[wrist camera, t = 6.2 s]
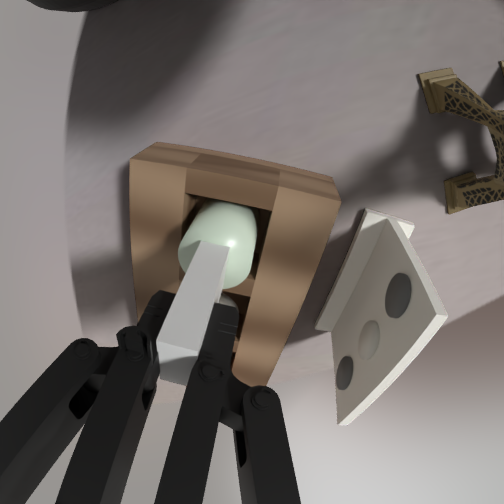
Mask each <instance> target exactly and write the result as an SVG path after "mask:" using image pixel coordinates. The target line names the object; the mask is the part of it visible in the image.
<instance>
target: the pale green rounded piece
mask: <svg viewBox="0 0 504 504" xmlns="http://www.w3.org/2000/svg"><path fill="white" fill-rule="evenodd" d="M259 222H260V215H259V210H258V208H257V207H252V206H248V205H243V204H239V203H234V202H229V201H224V200H219V199H214V198H210V197H208V198H207V199H206V200H205V202H204V204H203V205H202V207H201V209H200V210H199V212H198V214H197V215H196V217H195V219H194V220H193V222H192V224H191V225H190V227H189V229H188V231H187V232H186V234H185V236H184V237H183V239H182V241H181V243H180V245H179V248H178V259H179V263H180V265H181V267H182V269H183V271H184V272H185V273H186V272H187V270H188V268H189V265H190V263H191V261H192V259H193V257H194V255H195V253H196V251H197V248H198V246H199V244H200V242H201V241H204V242H209V243H213V244H218V245H222V246H227V247H230V249H229V255H228V261H227V266H226V272H225V278H224V284H223V289H228V288H232V287H235V286H237V285H239V284H240V283H242V282H243V281H244V280H245V279H246V278H247V276H248V274H249V272H250V269H251V264H252V259H253V254H254V249H255V244H256V238H257V233H258V228H259Z"/></svg>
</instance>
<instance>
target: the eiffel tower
mask: <svg viewBox="0 0 504 504" xmlns="http://www.w3.org/2000/svg"><path fill="white" fill-rule="evenodd" d="M500 64H501V68H502V72H503V76H504V61H500ZM418 76H419V79H420V82H421V85H422V88H423V91H424V95H425V98H426V102H427V105H428V109H429V112H430V113H431V114H432V113H436V112H437V113H441V112H446V111H447V112H450V113H453V114H456V115H459V116H462V117H465V118H467V119H470V120H473V121H475V122H478V123H481V124H483V125H486V126H487V127H488V129H489V132H490V134H491V137H492V140H493V144H494V147H495V150H496V155H497V165H496V172H495V175H491V176H487V177H483V178H478V179H476V174H475V173H473V172H470V173H467V174H464V175H461V176H457V177H454V178H451V179H448V180H445V181H444V186H445V193H446V201H447V210H448V214H452V213H455V212H458V211H461V210H464V209H467V208H470V207H473V206H477V205H482V204H486V203H491V202H495V201H499V200H504V110H493V109H492V108H491V107H490V106H489V105H488V104H487V103H486V102H485V101H484V100H483V99H482V98H481V97H480V96H479V95H477V94H476V93H475V92H474V91H473V90H472V89H471V88H469V87H468V86H467V85H466V84H465V83H464V82H462V81H461V80H460V79H459V78H457V75H456V74H454V73H453V69H452V68H446V69H441V70H435V71H430V72H425V73H421V74H418Z"/></svg>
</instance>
